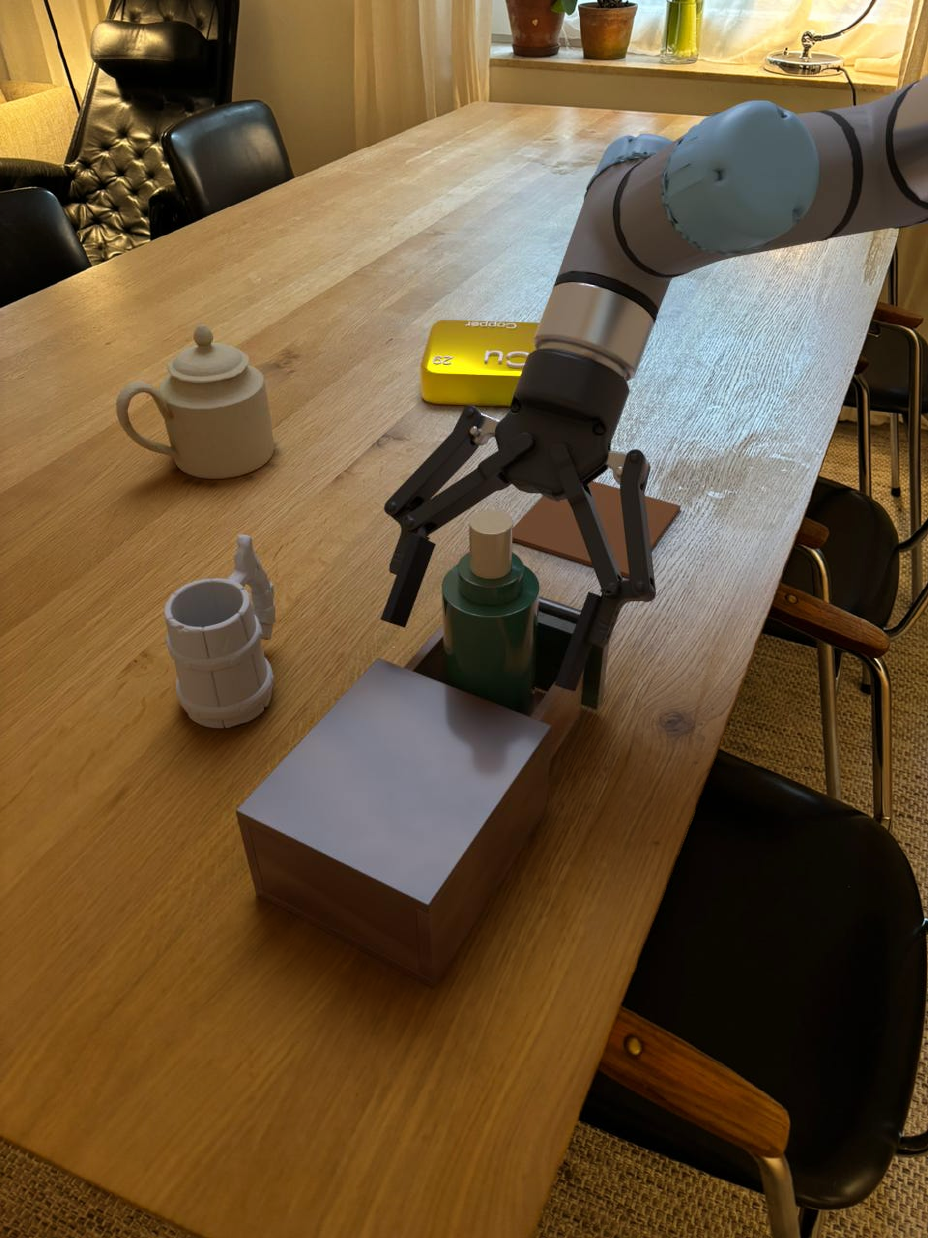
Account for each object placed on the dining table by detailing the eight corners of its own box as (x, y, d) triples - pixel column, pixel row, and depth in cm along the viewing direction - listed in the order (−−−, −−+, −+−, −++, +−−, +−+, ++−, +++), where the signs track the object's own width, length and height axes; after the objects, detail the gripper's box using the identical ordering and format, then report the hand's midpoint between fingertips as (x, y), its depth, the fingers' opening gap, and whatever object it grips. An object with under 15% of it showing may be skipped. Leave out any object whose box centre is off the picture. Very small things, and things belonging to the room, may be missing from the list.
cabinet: (385, 741, 76) (377, 657, 71) (546, 810, 71) (552, 725, 65) (255, 895, 66) (234, 810, 60) (433, 989, 61) (428, 906, 55)
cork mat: (679, 509, 100) (680, 505, 100) (630, 578, 92) (631, 574, 91) (563, 476, 105) (563, 472, 105) (506, 539, 97) (506, 535, 96)
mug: (161, 718, 79) (126, 600, 71) (238, 626, 87) (214, 512, 79) (244, 742, 76) (218, 624, 69) (316, 647, 85) (299, 531, 77)
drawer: (488, 621, 86) (488, 557, 81) (623, 669, 81) (632, 604, 76) (366, 765, 73) (359, 698, 69) (518, 832, 68) (520, 765, 64)
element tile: (550, 353, 128) (551, 317, 125) (545, 409, 116) (547, 371, 113) (434, 349, 129) (433, 314, 126) (419, 404, 118) (417, 367, 115)
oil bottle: (550, 715, 75) (563, 516, 64) (496, 766, 72) (499, 565, 60) (482, 678, 79) (483, 482, 67) (428, 724, 75) (418, 526, 63)
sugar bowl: (213, 508, 101) (184, 372, 92) (129, 483, 105) (93, 350, 95) (294, 441, 111) (276, 312, 102) (215, 420, 115) (190, 294, 106)
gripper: (762, 427, 67) (655, 721, 67) (446, 350, 77) (352, 607, 77) (752, 388, 60) (633, 715, 60) (406, 308, 70) (302, 591, 70)
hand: (475, 655), depth 68 cm, fingers open, 13 cm apart
